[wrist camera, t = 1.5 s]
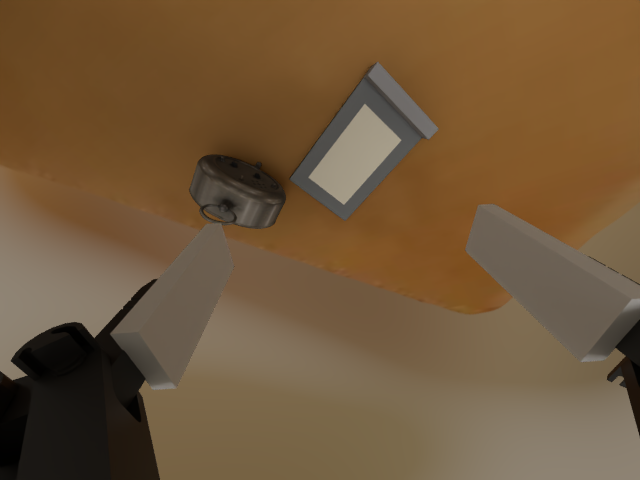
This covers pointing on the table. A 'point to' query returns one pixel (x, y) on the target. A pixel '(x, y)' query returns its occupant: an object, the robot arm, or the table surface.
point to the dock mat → (362, 143)
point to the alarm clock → (236, 192)
